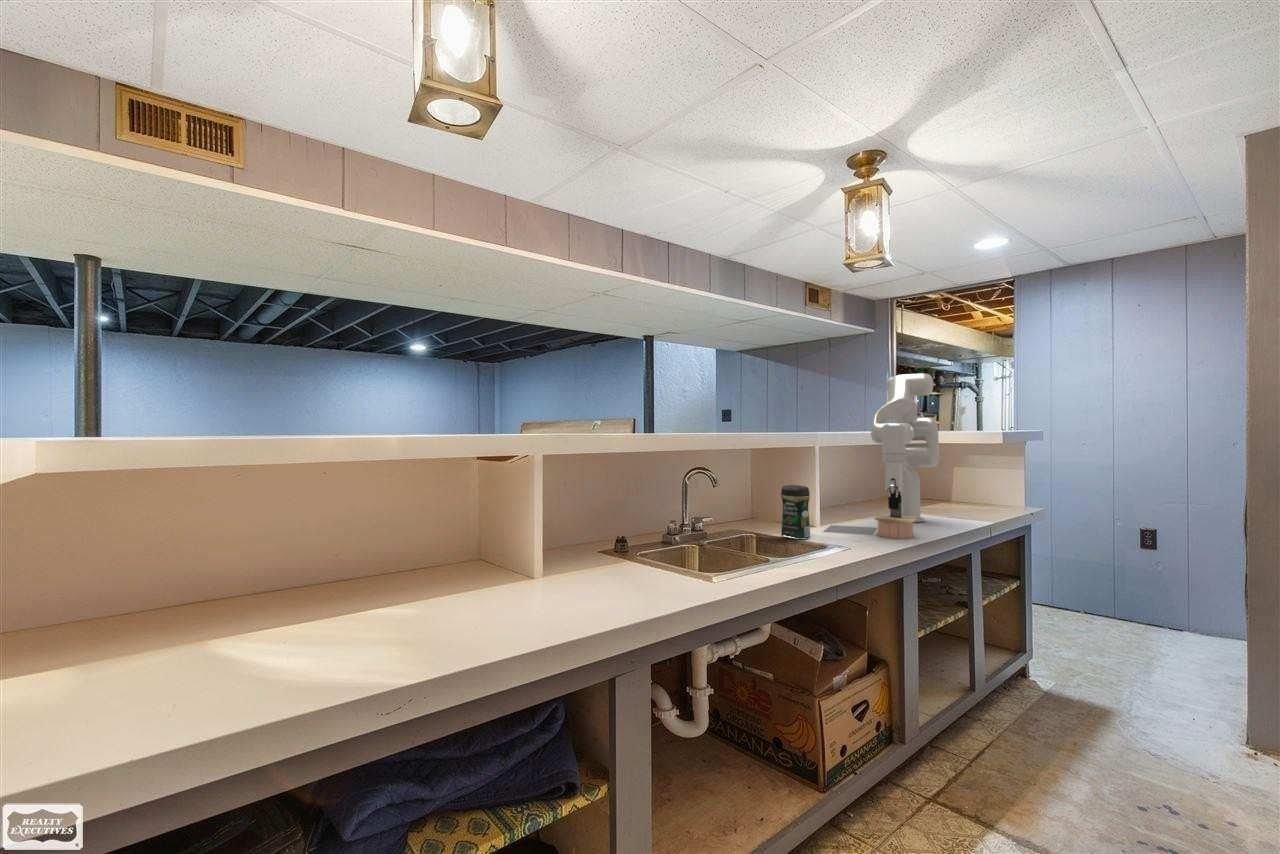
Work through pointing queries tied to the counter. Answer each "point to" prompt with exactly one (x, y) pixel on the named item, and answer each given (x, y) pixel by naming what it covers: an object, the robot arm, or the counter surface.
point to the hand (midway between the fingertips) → (895, 507)
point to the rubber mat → (851, 529)
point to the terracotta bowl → (895, 529)
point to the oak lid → (896, 517)
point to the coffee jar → (795, 511)
